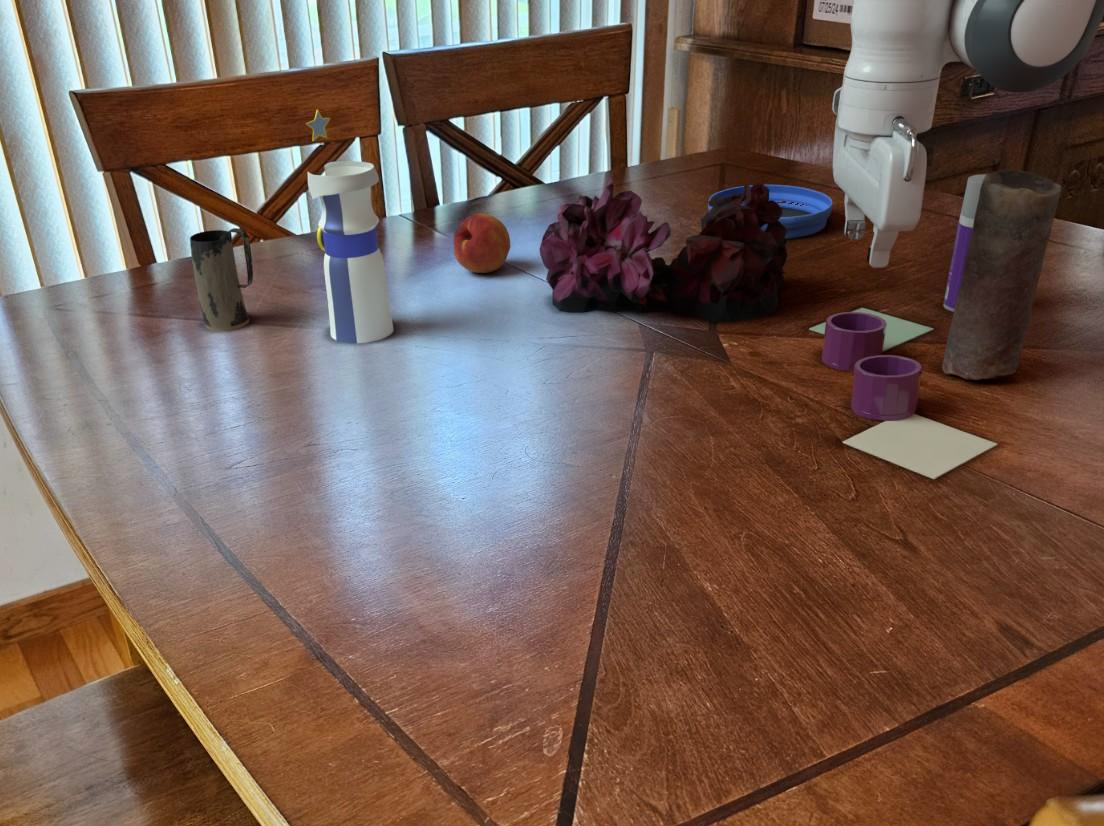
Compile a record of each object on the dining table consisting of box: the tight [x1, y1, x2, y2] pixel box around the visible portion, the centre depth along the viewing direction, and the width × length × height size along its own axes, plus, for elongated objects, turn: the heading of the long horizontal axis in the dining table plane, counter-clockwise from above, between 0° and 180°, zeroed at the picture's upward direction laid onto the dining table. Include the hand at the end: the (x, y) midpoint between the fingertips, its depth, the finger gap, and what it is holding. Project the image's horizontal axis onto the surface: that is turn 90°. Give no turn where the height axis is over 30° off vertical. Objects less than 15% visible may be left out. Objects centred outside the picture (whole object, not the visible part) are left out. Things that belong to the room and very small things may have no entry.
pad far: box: [809, 307, 935, 353], centre depth 128 cm, size 10×10×1 cm
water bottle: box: [305, 109, 394, 344], centre depth 127 cm, size 8×9×25 cm
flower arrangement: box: [539, 173, 788, 323], centre depth 135 cm, size 31×20×15 cm, turn 88°
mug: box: [189, 227, 254, 332], centre depth 135 cm, size 8×6×12 cm
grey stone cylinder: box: [941, 169, 1062, 381], centre depth 111 cm, size 8×7×20 cm
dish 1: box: [821, 311, 887, 372], centre depth 119 cm, size 6×6×4 cm
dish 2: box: [850, 354, 923, 422], centre depth 109 cm, size 6×6×4 cm
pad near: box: [842, 413, 999, 480], centre depth 103 cm, size 10×10×1 cm
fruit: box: [453, 212, 511, 274], centre depth 149 cm, size 8×8×8 cm
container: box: [942, 173, 987, 313], centre depth 128 cm, size 5×5×15 cm
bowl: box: [707, 184, 834, 240], centre depth 164 cm, size 18×18×4 cm
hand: (864, 251), depth 114 cm, fingers open, 8 cm apart
